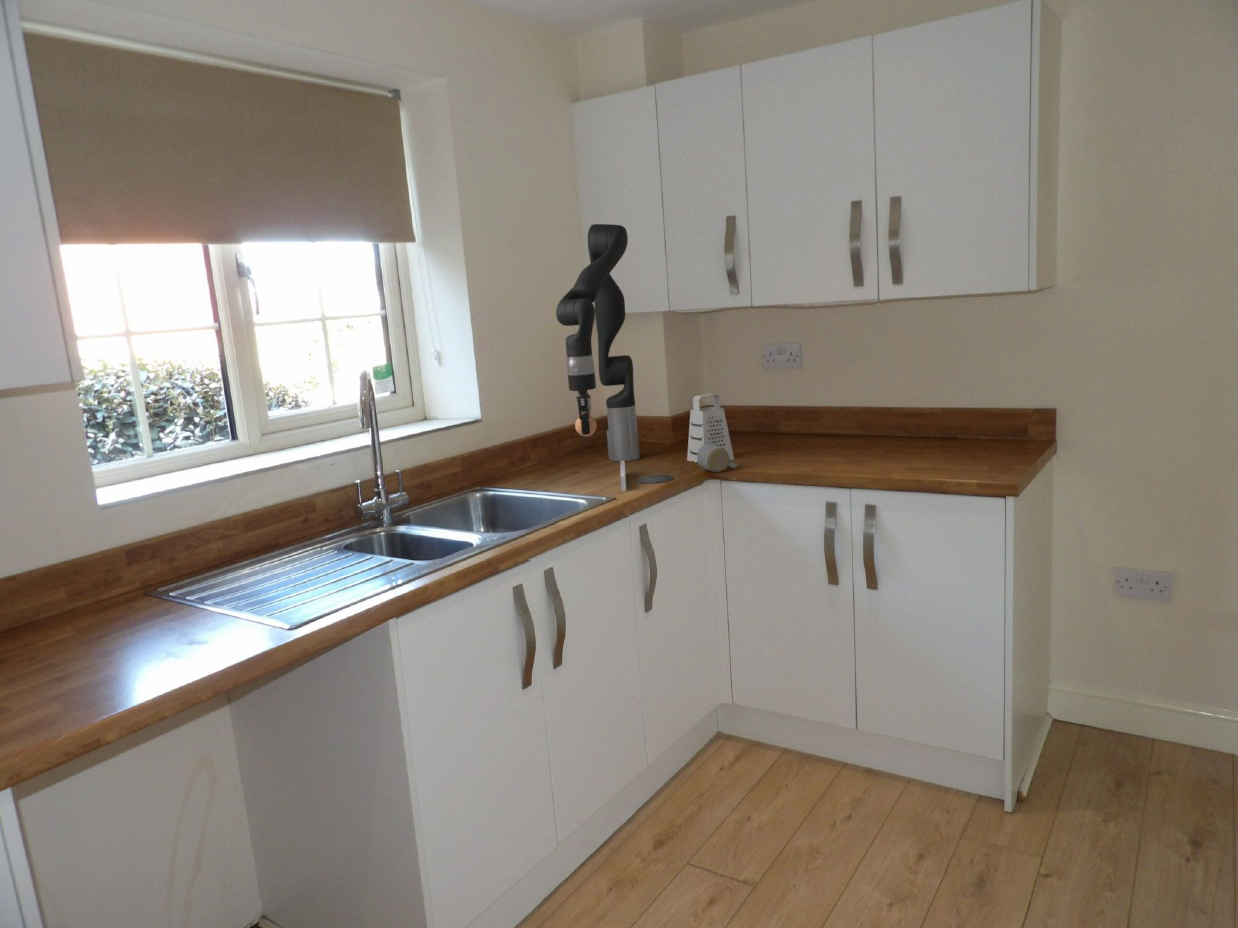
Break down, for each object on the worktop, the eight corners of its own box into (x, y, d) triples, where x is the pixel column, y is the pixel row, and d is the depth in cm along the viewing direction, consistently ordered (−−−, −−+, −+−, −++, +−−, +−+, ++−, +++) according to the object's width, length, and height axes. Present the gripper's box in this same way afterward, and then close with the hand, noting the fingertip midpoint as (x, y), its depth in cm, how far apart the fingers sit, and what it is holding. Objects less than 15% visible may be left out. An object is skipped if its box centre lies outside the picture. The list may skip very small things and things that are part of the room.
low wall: (621, 474, 265) (620, 461, 264) (625, 474, 265) (624, 460, 264) (621, 491, 242) (620, 476, 241) (626, 490, 241) (625, 476, 241)
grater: (734, 459, 274) (730, 394, 270) (704, 464, 270) (699, 398, 266) (716, 455, 283) (711, 392, 280) (687, 460, 279) (682, 396, 276)
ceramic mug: (708, 474, 254) (706, 447, 253) (697, 470, 262) (696, 444, 260) (742, 470, 257) (741, 443, 256) (730, 466, 265) (729, 440, 263)
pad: (630, 481, 253) (630, 480, 253) (654, 474, 260) (654, 473, 260) (656, 484, 246) (656, 483, 246) (680, 477, 253) (680, 476, 253)
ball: (571, 437, 251) (569, 416, 250) (587, 433, 255) (585, 412, 254) (586, 438, 247) (584, 417, 246) (602, 434, 251) (600, 413, 250)
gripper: (593, 373, 241) (599, 435, 244) (595, 369, 255) (600, 427, 258) (566, 376, 241) (571, 437, 244) (569, 371, 255) (574, 430, 258)
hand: (586, 432), depth 251 cm, fingers closed on ball, 6 cm apart
